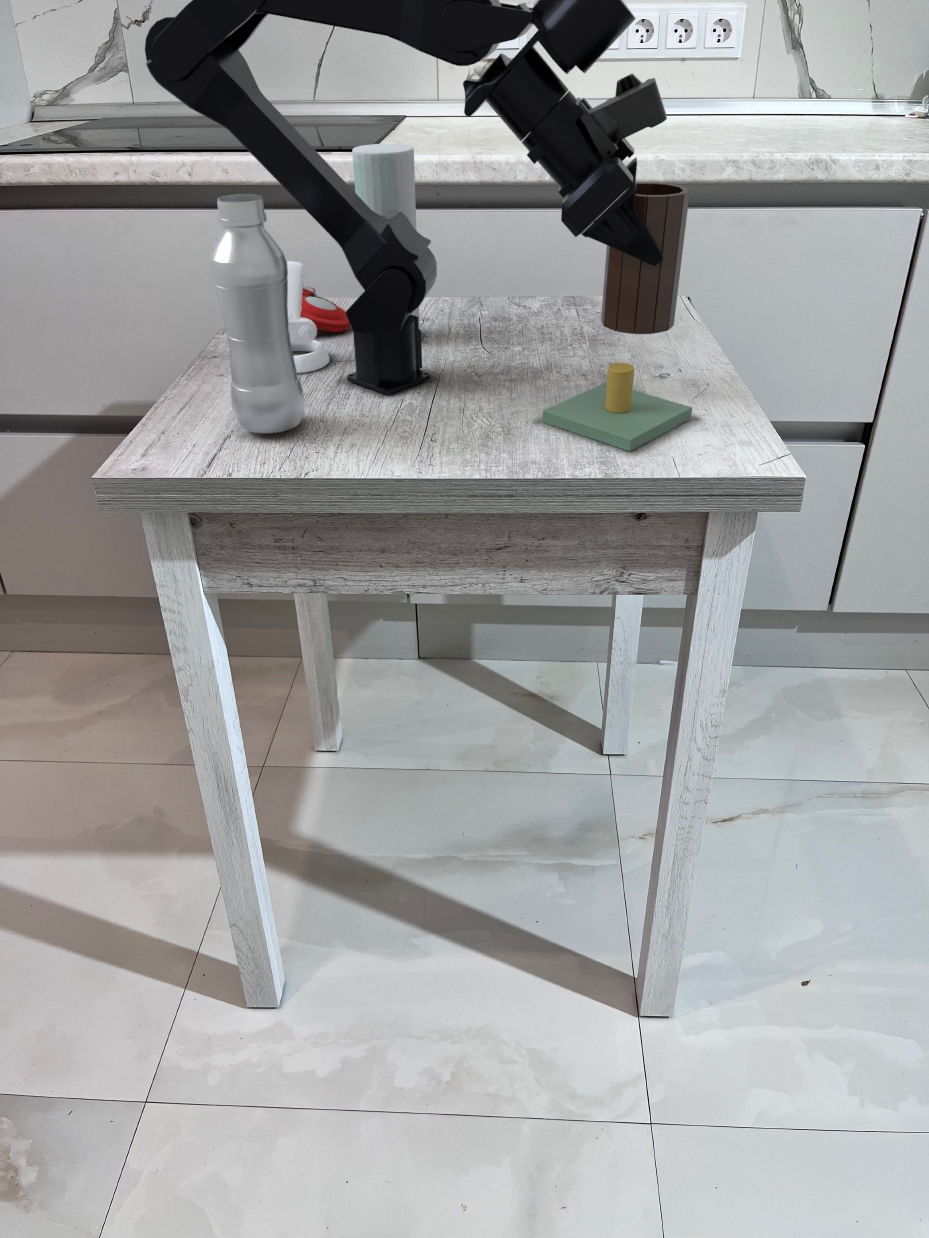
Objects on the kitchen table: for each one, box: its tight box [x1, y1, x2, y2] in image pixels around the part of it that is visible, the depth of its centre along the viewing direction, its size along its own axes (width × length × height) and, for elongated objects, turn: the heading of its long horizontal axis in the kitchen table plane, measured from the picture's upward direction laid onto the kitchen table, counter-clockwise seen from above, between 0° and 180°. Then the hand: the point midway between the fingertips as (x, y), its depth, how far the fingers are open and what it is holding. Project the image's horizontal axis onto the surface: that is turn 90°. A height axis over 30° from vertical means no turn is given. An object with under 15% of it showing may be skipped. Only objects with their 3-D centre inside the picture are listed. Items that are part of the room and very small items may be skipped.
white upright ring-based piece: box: [286, 260, 331, 374], centre depth 102 cm, size 8×12×7 cm
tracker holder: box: [300, 284, 351, 333], centre depth 113 cm, size 12×4×10 cm
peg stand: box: [542, 362, 693, 452], centre depth 87 cm, size 10×10×5 cm
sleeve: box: [600, 181, 691, 335], centre depth 87 cm, size 7×7×12 cm
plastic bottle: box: [208, 193, 306, 434], centre depth 82 cm, size 6×7×20 cm
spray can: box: [351, 143, 420, 323], centre depth 104 cm, size 6×6×20 cm
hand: (658, 252), depth 86 cm, fingers closed on sleeve, 7 cm apart
